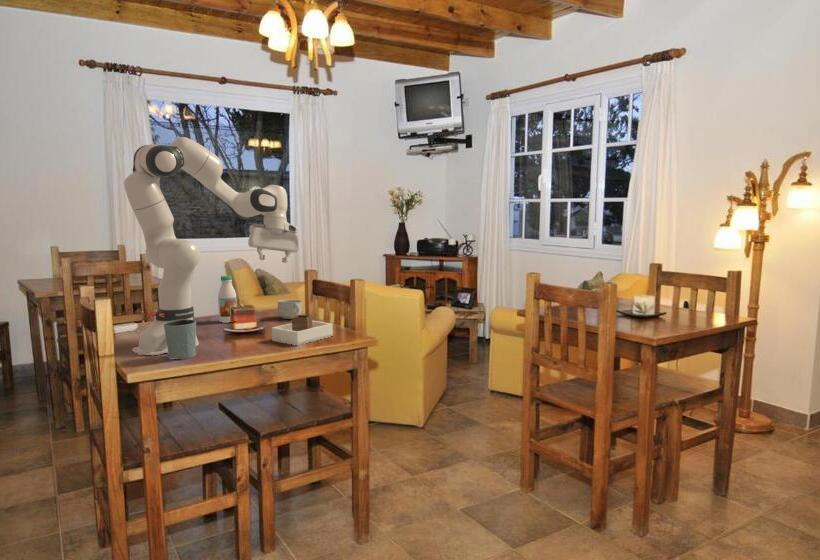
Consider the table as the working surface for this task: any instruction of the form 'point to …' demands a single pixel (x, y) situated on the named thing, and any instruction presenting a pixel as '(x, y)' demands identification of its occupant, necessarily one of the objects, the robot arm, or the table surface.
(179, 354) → the green cup
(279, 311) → the teacup
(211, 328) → the table surface
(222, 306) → the milk bottle
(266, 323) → the table surface
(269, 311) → the table surface
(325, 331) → the white crate
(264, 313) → the table surface
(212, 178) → the robot arm
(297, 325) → the walnut crate
